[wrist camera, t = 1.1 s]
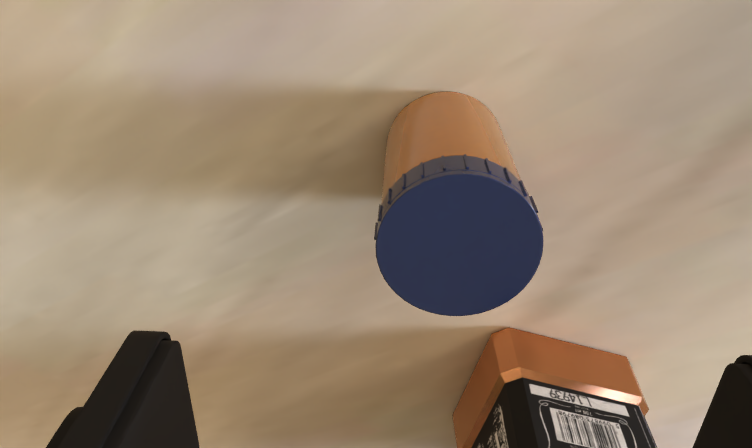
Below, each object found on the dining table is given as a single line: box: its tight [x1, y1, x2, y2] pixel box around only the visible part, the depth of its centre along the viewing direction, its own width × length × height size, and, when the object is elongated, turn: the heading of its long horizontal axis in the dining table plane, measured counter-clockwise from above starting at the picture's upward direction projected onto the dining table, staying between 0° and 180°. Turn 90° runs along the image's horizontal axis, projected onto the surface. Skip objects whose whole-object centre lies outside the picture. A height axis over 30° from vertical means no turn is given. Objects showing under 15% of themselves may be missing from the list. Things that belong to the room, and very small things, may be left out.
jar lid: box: [374, 154, 543, 316], centre depth 25 cm, size 7×7×2 cm
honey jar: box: [381, 92, 521, 205], centre depth 29 cm, size 7×7×11 cm
